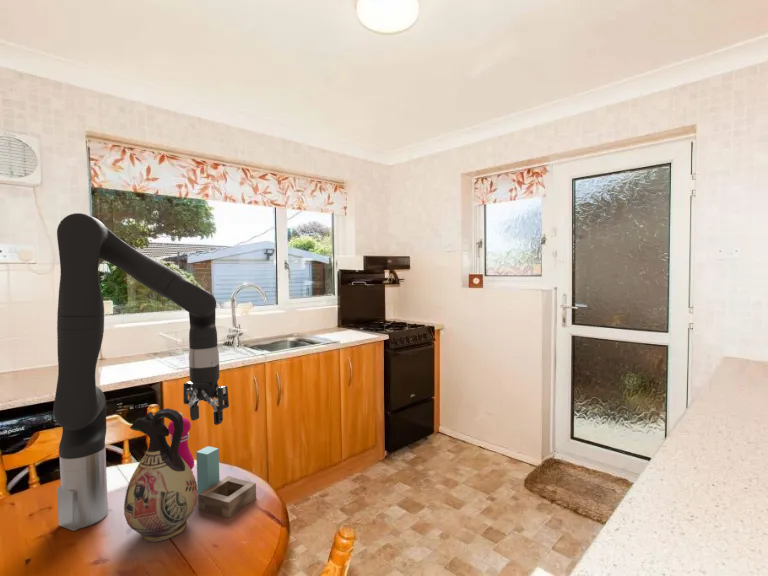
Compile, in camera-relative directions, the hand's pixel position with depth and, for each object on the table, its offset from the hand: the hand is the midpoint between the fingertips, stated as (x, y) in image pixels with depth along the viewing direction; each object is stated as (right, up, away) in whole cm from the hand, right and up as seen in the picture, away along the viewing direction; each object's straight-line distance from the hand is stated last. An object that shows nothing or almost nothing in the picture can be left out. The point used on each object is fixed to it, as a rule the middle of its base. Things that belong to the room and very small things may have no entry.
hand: (206, 421), depth 115 cm
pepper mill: (-11, -20, +8) cm, 24 cm away
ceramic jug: (-3, -21, -16) cm, 26 cm away
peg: (0, -20, +1) cm, 20 cm away
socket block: (+8, -20, -4) cm, 22 cm away
